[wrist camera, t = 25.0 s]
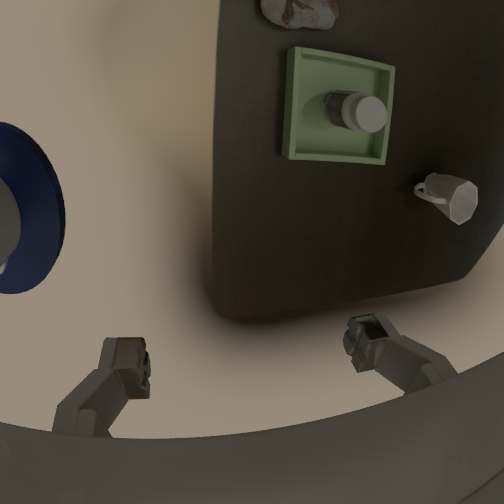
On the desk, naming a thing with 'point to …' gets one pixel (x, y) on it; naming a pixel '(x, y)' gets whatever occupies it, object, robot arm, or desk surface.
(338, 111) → the pill bottle
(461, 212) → the cup
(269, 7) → the stone
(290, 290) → the desk surface
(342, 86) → the sage tray
